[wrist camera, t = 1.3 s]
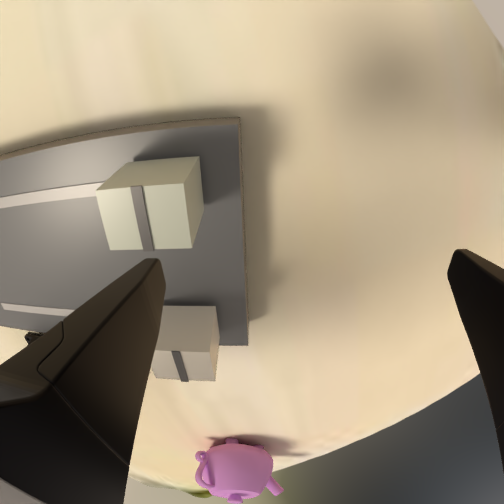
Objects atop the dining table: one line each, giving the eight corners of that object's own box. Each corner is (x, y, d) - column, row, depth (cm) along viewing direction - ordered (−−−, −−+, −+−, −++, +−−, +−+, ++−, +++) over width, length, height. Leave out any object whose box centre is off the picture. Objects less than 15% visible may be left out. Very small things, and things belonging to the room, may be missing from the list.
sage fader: (204, 210, 17) (191, 250, 14) (136, 213, 17) (109, 252, 14) (199, 155, 15) (182, 183, 12) (126, 161, 16) (93, 190, 12)
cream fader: (219, 336, 23) (215, 382, 19) (167, 335, 23) (155, 379, 19) (215, 305, 21) (209, 353, 17) (158, 305, 21) (143, 350, 17)
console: (248, 322, 26) (248, 346, 24) (-2, 308, 26) (-13, 324, 24) (239, 117, 17) (237, 124, 15) (-56, 175, 18) (-73, 186, 15)
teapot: (215, 426, 37) (211, 490, 29) (301, 448, 41) (305, 501, 33) (182, 445, 41) (175, 498, 33) (261, 465, 46) (261, 512, 38)
